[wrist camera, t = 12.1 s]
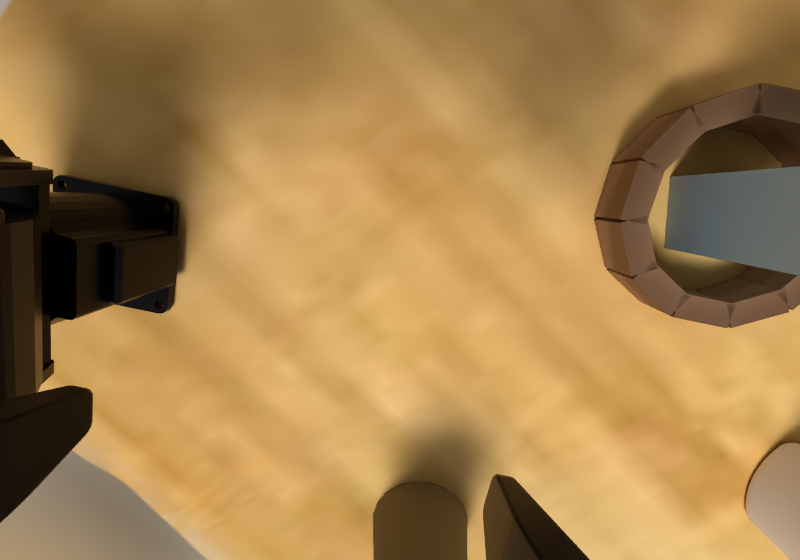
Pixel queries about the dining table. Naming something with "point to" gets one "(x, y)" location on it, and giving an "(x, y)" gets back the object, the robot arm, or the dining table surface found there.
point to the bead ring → (637, 187)
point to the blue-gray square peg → (738, 217)
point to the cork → (419, 524)
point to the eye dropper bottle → (778, 499)
